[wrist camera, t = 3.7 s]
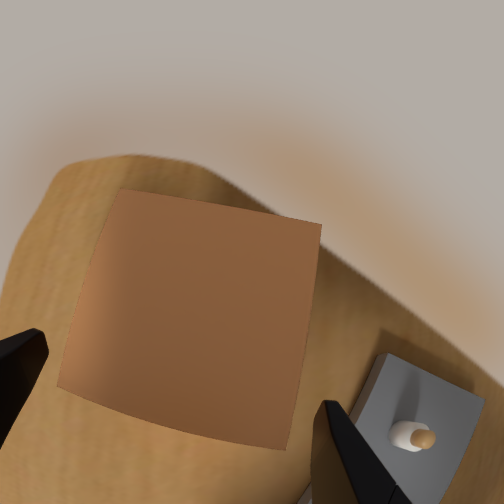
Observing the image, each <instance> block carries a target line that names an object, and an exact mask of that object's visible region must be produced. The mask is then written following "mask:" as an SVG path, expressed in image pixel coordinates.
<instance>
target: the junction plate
mask: <svg viewBox="0 0 504 504" xmlns="http://www.w3.org/2000/svg"><path fill="white" fill-rule="evenodd" d="M484 402H485V399H483V398H481V397H479V396H477V395H474V394H472V393H470V392H468V391H466V390H464V389H462V388H460V387H458V386H456V385H453V384H451V383H449V382H447V381H445V380H443V379H441V378H439V377H437V376H435V375H433V374H431V373H429V372H427V371H424V370H422V369H420V368H418V367H416V366H414V365H412V364H410V363H408V362H406V361H404V360H402V359H400V358H398V357H396V356H394V355H392V354H390V353H385V354H380V355H377V358H376V360H375V362H374V365H373V367H372V369H371V371H370V374H369V376H368V378H367V380H366V382H365V385H364V387H363V389H362V391H361V393H360V395H359V397H358V399H357V401H356V403H355V405H354V407H353V409H352V411H351V413H350V415H349V418H350V419H351V421H352V422H353V424H354V425H355V426H356V428H357V429H358V430H359V432H360V433H361V435H362V436H363V437H364V439H365V440H366V442H367V443H368V444H369V446H370V447H371V448H372V450H373V451H374V453H375V454H376V455H377V457H378V458H379V459H380V461H381V462H382V464H383V465H384V466H385V468H386V469H387V470H388V472H389V473H390V475H391V476H392V477H393V479H394V480H395V481H396V483H397V484H396V485H399V487H400V488H401V489H402V491H403V492H404V493H405V495H406V496H407V497H408V498H409V500H410V501H411V502H412V503H413V504H439V503H440V501H441V499H442V498H443V496H444V494H445V492H446V490H447V488H448V487H449V485H450V483H451V481H452V479H453V477H454V475H455V473H456V471H457V469H458V467H459V465H460V463H461V460H462V458H463V456H464V454H465V452H466V449H467V447H468V445H469V442H470V440H471V438H472V435H473V433H474V430H475V428H476V425H477V422H478V420H479V417H480V414H481V411H482V408H483V405H484ZM297 504H312V492H311V483H310V484H309V486H308V488H307V489H306V491H305V492H304V494H303V495H302V497H301V498H300V500H299V501H298V502H297Z"/></svg>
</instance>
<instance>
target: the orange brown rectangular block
mask: <svg viewBox="0 0 504 504" xmlns="http://www.w3.org/2000/svg"><path fill="white" fill-rule="evenodd" d="M321 227H322V225H321V224H317V223H312V222H308V221H303V220H298V219H293V218H288V217H283V216H278V215H273V214H268V213H263V212H258V211H253V210H247V209H242V208H237V207H231V206H226V205H220V204H215V203H209V202H203V201H198V200H192V199H186V198H180V197H174V196H168V195H162V194H156V193H149V192H143V191H136V190H130V189H123V188H120V190H119V192H118V194H117V196H116V199H115V201H114V203H113V206H112V208H111V210H110V213H109V215H108V218H107V220H106V223H105V225H104V228H103V230H102V233H101V235H100V238H99V241H98V243H97V246H96V249H95V251H94V254H93V257H92V260H91V262H90V265H89V268H88V271H87V274H86V277H85V280H84V283H83V286H82V289H81V293H80V296H79V299H78V302H77V306H76V309H75V313H74V316H73V320H72V323H71V327H70V331H69V335H68V338H67V342H66V346H65V351H64V355H63V359H62V364H61V368H60V373H59V378H58V383H57V386H58V387H60V388H62V389H64V390H66V391H69V392H71V393H73V394H75V395H78V396H80V397H82V398H85V399H87V400H90V401H92V402H95V403H97V404H100V405H102V406H105V407H107V408H110V409H113V410H116V411H118V412H121V413H124V414H127V415H130V416H133V417H136V418H139V419H142V420H145V421H148V422H151V423H155V424H158V425H162V426H165V427H169V428H172V429H176V430H180V431H183V432H187V433H191V434H195V435H200V436H204V437H208V438H213V439H218V440H222V441H228V442H233V443H238V444H244V445H250V446H256V447H263V448H270V449H277V450H286V447H287V443H288V438H289V433H290V428H291V424H292V419H293V414H294V409H295V404H296V399H297V393H298V388H299V382H300V377H301V371H302V366H303V360H304V354H305V348H306V342H307V335H308V329H309V322H310V315H311V308H312V301H313V294H314V287H315V279H316V271H317V263H318V254H319V245H320V236H321Z"/></svg>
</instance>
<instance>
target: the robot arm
mask: <svg viewBox="0 0 504 504" xmlns="http://www.w3.org/2000/svg"><path fill="white" fill-rule="evenodd" d="M48 355H49V349H48V345H47V342H46V338H45V334H44V333H43V332H42V331H40V330H38V329H35V328H32V329H29V330H27V331H24V332H21V333H19V334H16V335H13V336H11V337H8V338H6V339H3V340H0V449H1V447H2V445H3V443H4V441H5V439H6V437H7V435H8V433H9V431H10V429H11V427H12V426H13V424H14V422H15V420H16V418H17V416H18V414H19V413H20V411H21V409H22V407H23V406H24V404H25V402H26V400H27V399H28V397H29V395H30V393H31V391H32V389H33V387H34V385H35V383H36V381H37V379H38V377H39V374H40V372H41V370H42V368H43V366H44V364H45V362H46V360H47V358H48ZM396 484H397V483H396V481H395V480H394V479H393V477H392V476H391V475H390V473H389V472H388V470H387V469H386V468H385V466H384V465H383V464H382V462H381V461H380V459H379V458H378V457H377V455H376V454H375V453H374V451H373V450H372V448H371V447H370V446H369V444H368V443H367V442H366V440H365V439H364V437H363V436H362V435H361V433H360V432H359V430H358V429H357V428H356V426H355V425H354V424H353V422H352V421H351V419H350V418H349V417H348V415H347V414H346V412H345V411H344V410H343V408H342V407H341V405H340V404H339V403H338V402H337V401H335V400H323V401H322V403H321V405H320V407H319V409H318V411H317V413H316V415H315V418H314V424H313V438H312V452H311V492H312V504H413V503H412V502H411V501H410V500H409V498H408V497H407V496H406V495H405V493H404V492H403V491H402V489H401V488H400V487H399V485H396Z"/></svg>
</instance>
